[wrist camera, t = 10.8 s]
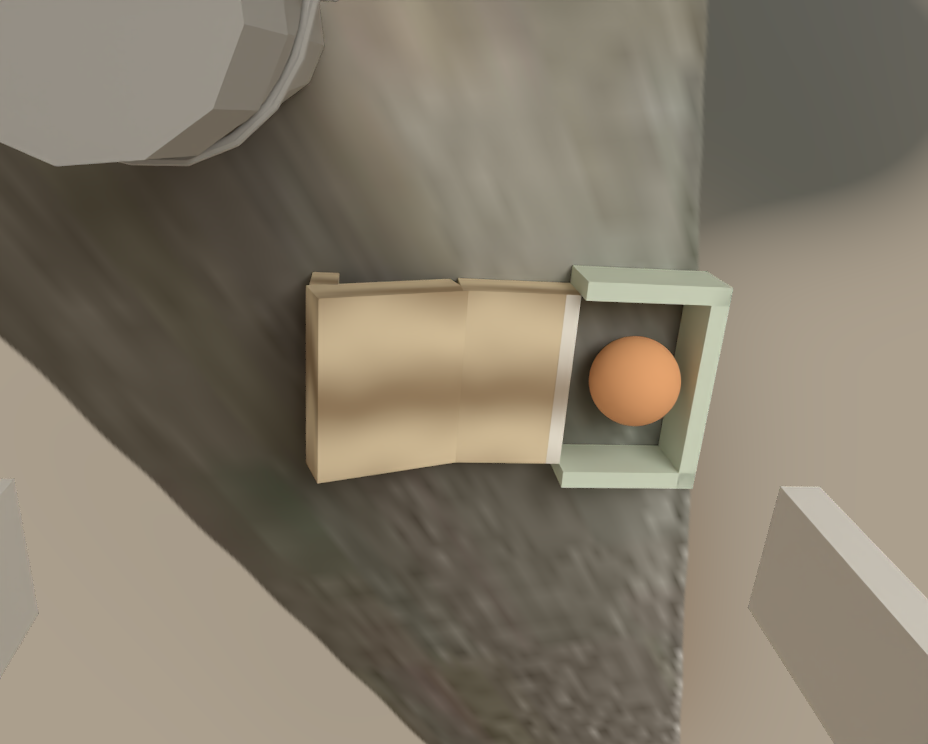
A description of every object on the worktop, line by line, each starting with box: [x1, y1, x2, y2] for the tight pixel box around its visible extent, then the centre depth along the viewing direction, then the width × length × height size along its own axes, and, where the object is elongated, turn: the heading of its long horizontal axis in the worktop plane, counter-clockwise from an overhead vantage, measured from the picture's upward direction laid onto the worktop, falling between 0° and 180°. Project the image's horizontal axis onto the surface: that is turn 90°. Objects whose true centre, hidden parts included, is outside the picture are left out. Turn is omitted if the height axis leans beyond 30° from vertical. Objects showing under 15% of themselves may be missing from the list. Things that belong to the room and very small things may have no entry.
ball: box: [589, 336, 681, 426], centre depth 43 cm, size 5×5×5 cm
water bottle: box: [0, 0, 338, 166], centre depth 26 cm, size 9×8×25 cm
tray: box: [551, 265, 733, 489], centre depth 44 cm, size 12×8×4 cm, turn 176°
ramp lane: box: [306, 272, 582, 483], centre depth 42 cm, size 10×14×5 cm
